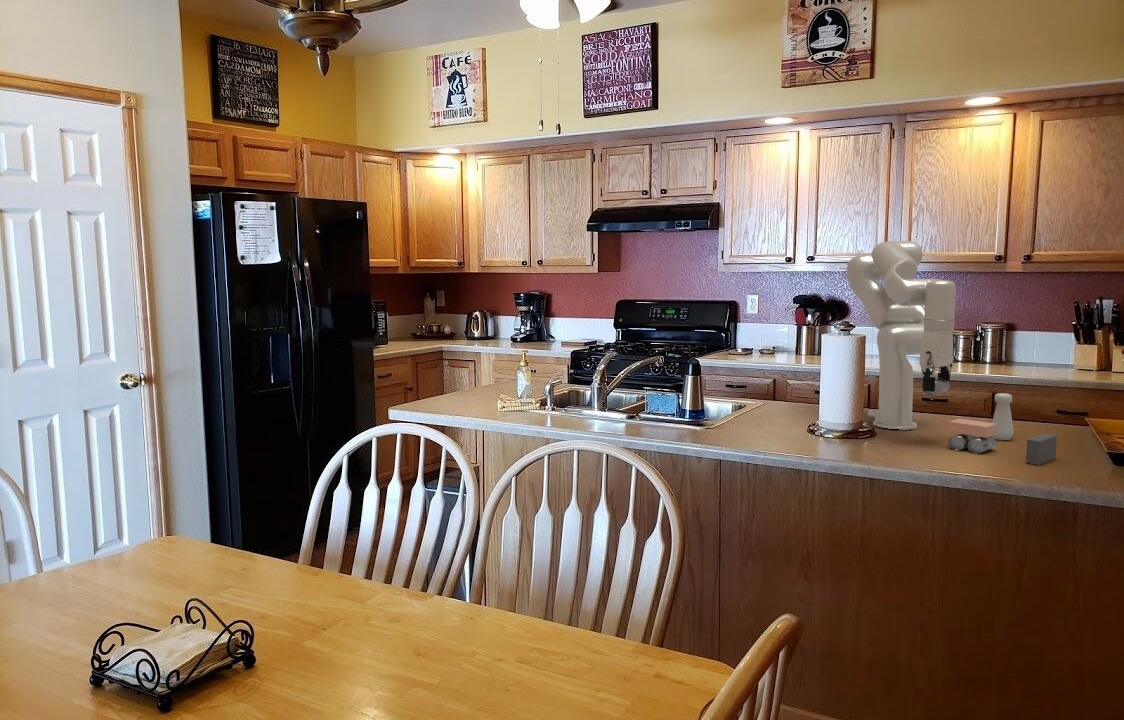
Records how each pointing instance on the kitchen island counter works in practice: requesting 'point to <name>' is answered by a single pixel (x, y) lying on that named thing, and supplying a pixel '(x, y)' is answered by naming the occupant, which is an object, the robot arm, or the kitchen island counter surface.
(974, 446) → the front steel roller
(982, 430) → the terracotta slab
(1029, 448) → the rubber block
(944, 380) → the loose steel roller
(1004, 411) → the salt shaker
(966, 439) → the rear steel roller
